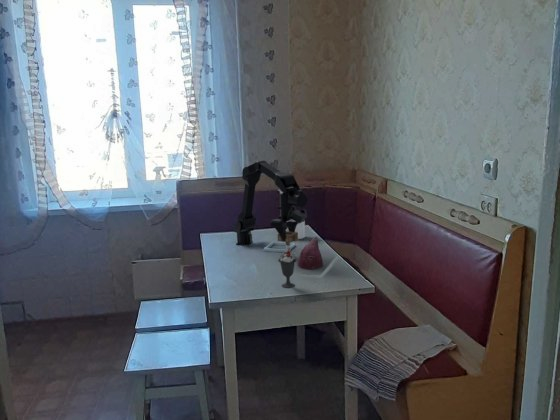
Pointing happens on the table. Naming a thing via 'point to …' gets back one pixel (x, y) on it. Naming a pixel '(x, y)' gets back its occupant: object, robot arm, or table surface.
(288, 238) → the ring
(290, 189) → the robot arm
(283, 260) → the sundae
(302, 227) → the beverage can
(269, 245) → the tray
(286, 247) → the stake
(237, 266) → the table surface
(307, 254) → the vegetable
